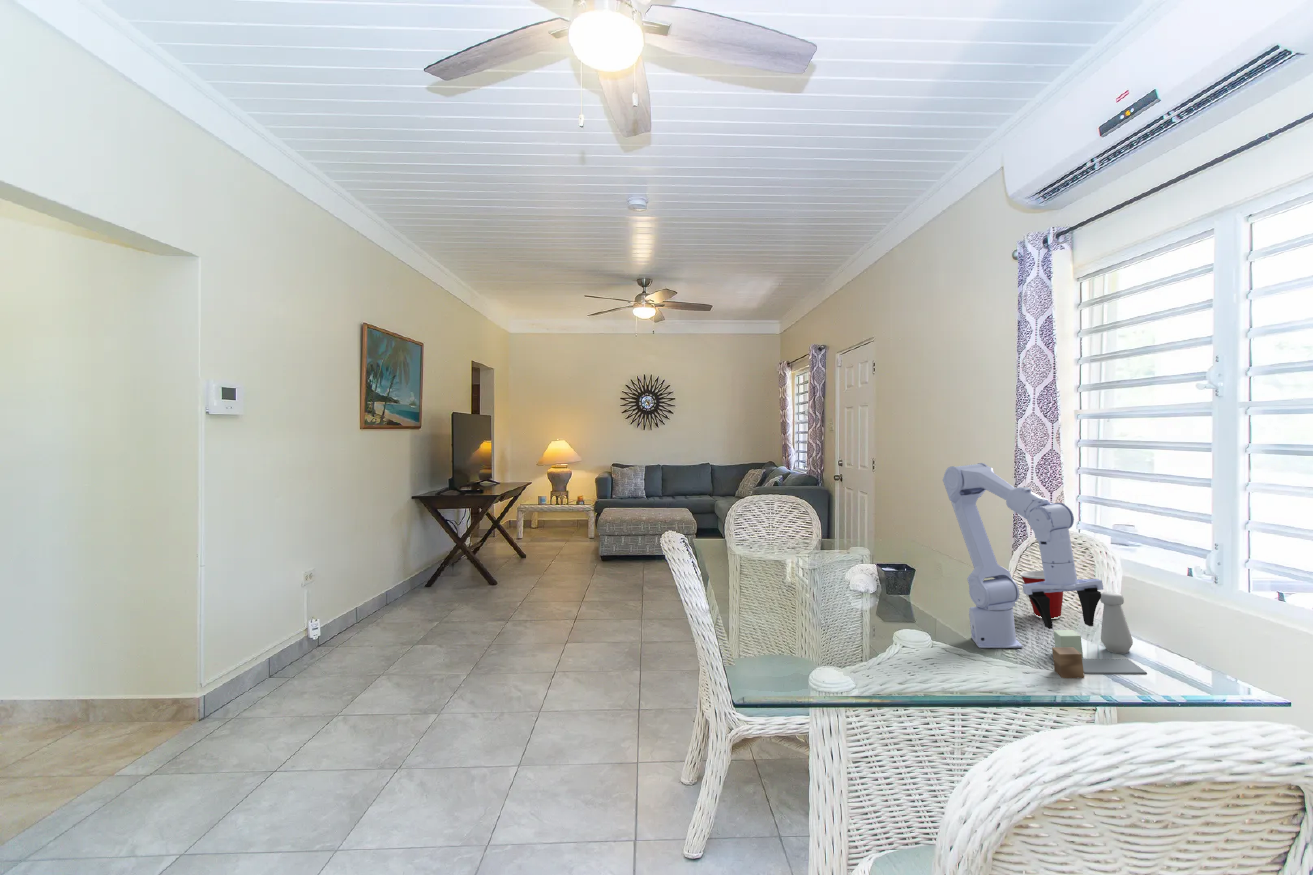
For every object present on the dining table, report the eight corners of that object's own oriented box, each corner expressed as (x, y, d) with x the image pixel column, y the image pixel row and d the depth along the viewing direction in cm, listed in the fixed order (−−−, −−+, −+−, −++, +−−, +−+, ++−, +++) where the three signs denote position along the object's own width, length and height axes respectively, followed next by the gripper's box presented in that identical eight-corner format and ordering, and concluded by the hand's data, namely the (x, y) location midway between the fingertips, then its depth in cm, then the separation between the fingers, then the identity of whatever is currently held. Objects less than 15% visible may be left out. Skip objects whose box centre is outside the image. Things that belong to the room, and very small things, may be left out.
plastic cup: (1058, 609, 164) (1053, 566, 164) (1080, 621, 153) (1075, 575, 153) (1016, 611, 165) (1011, 569, 165) (1035, 623, 154) (1030, 578, 155)
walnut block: (1062, 678, 122) (1059, 654, 122) (1054, 670, 126) (1051, 647, 126) (1084, 678, 121) (1081, 654, 121) (1075, 670, 125) (1073, 647, 125)
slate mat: (1084, 673, 123) (1084, 672, 123) (1070, 660, 130) (1069, 658, 130) (1146, 673, 120) (1146, 672, 120) (1128, 659, 128) (1127, 658, 128)
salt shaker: (1139, 654, 130) (1133, 595, 130) (1110, 655, 131) (1104, 597, 131) (1124, 645, 135) (1118, 588, 135) (1096, 646, 136) (1090, 590, 137)
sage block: (1062, 658, 132) (1060, 635, 132) (1055, 651, 136) (1053, 630, 136) (1083, 658, 131) (1080, 635, 131) (1075, 651, 135) (1073, 629, 135)
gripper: (1028, 567, 123) (1039, 633, 121) (1106, 561, 120) (1118, 628, 119) (1014, 562, 130) (1025, 624, 128) (1088, 556, 127) (1099, 620, 126)
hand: (1068, 626), depth 124 cm, fingers open, 7 cm apart
